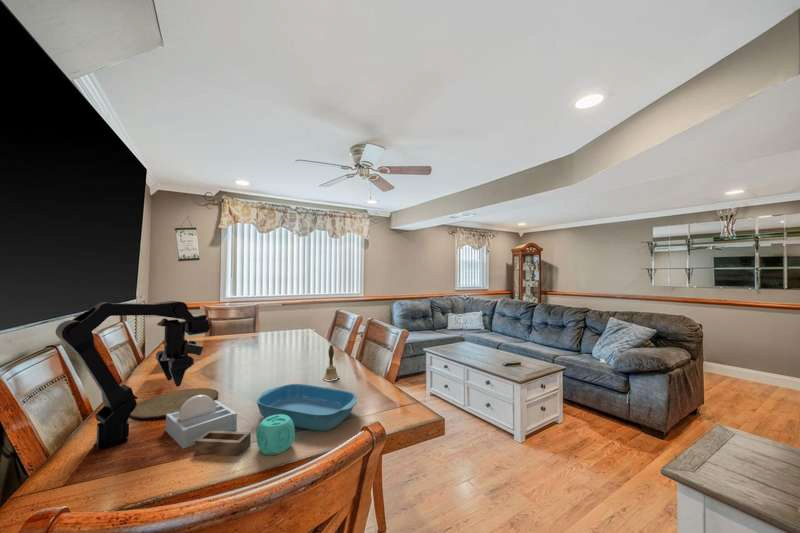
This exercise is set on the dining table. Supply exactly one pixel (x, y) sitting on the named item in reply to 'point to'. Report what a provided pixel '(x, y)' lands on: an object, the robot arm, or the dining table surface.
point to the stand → (223, 442)
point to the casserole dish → (308, 405)
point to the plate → (196, 407)
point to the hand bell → (331, 366)
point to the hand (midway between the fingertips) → (173, 383)
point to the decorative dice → (275, 434)
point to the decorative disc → (168, 403)
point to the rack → (200, 425)
